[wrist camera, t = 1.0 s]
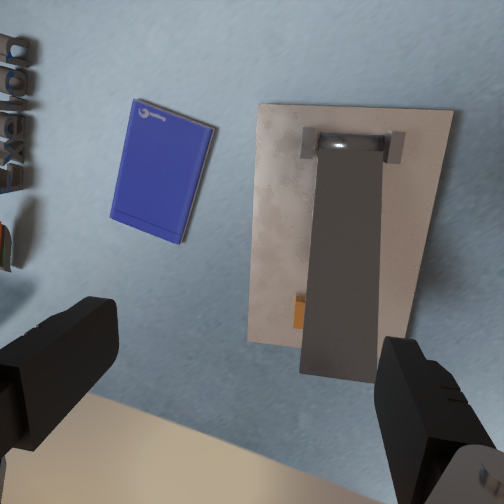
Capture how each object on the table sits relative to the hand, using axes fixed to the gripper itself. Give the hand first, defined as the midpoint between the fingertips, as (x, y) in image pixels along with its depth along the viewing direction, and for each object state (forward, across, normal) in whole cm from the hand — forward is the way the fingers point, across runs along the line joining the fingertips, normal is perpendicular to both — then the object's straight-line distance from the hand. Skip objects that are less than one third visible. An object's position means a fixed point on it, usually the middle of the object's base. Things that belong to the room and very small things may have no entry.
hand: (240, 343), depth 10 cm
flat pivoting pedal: (+18, -5, +2) cm, 18 cm away
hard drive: (+26, +14, -2) cm, 30 cm away
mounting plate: (+26, -5, +3) cm, 27 cm away
